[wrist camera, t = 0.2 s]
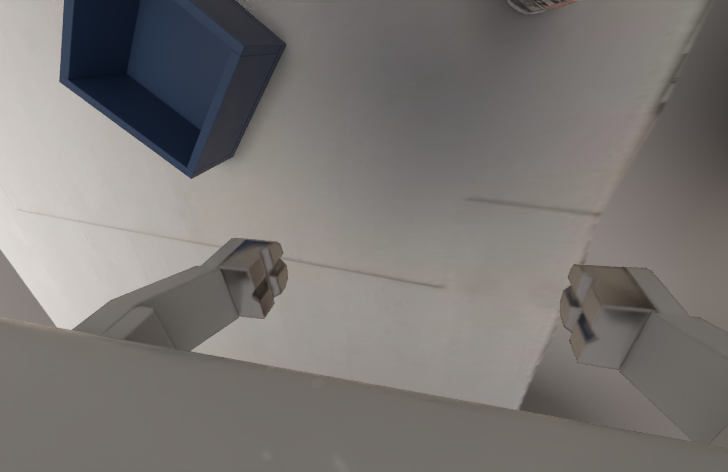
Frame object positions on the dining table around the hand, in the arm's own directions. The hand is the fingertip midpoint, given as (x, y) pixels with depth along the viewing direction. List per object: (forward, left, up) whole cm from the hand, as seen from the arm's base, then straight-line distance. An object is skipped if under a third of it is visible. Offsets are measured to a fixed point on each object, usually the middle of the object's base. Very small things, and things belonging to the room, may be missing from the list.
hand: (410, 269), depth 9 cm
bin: (+11, -21, -23) cm, 33 cm away
